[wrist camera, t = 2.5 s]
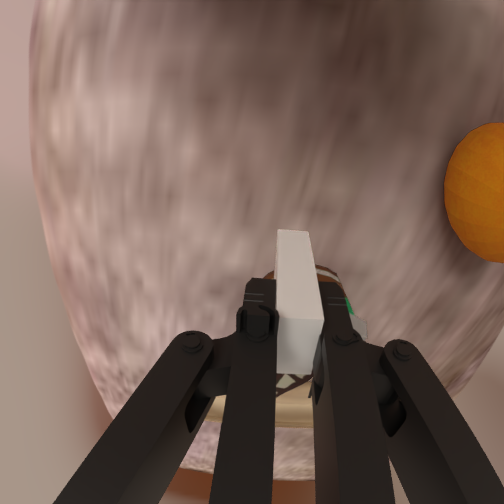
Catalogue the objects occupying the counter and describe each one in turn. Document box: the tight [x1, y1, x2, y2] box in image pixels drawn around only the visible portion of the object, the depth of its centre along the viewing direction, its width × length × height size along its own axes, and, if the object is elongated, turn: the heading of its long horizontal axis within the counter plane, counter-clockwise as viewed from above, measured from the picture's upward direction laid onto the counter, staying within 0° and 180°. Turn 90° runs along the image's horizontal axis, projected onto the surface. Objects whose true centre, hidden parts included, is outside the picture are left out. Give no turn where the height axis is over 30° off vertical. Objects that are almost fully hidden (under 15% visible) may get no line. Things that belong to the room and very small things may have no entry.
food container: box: [263, 265, 367, 398], centre depth 25 cm, size 12×6×10 cm, turn 143°
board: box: [204, 382, 314, 428], centre depth 36 cm, size 6×24×4 cm, turn 88°
